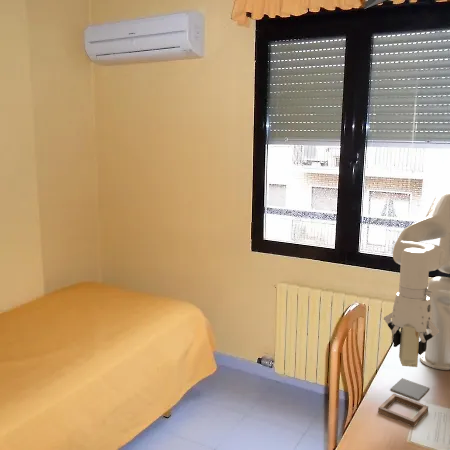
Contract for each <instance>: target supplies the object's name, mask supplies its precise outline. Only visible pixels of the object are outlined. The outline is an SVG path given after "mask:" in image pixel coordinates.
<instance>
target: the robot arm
mask: <svg viewBox="0 0 450 450" xmlns="http://www.w3.org/2000/svg"><path fill="white" fill-rule="evenodd" d="M436 239H439V245H437V244H434V243H427V241H431V240H436ZM425 241H426V243H424V242H425ZM392 259H393V261H394V262H395V263H396V264H398V265H400V267H399V269H400V272H399V286H398V287H399V288H398V292H397V293H396V294H395V295H396V296H395V299H394V302H393V307H392V311H391V313H389V314H387V315H386V316H384V317H383V320H384V321H385V323H386V324H387V326H388V328H389V329H390V330H391V334H392V343H393V347H395V348H397V347H398V346H400V335H401V328H403V327H404V325H407V326H411V327H414V328H415V329H416V332H419V333H420V335H419V349H418V356H419V360H420V362H422V363H423V364H424V365H426V366H427V367H429V368H431V369H432V368H433V369H436V370H441V371H449V370H450V277H449V276H447V277H446V276H435V277H432V278H431V279H429V275H430V274H429V273H430V272H433V271H436V270H438V271H439V272H441V273H445V274H448V275H449V274H450V191H443V192H441V193H438V194H437V195H436V196H435V198H434V199H433V201H432V203H431V206H430V208H429V210H428V212H427V214H426V216H425V217H424V218H422V219H420V220H418V221H416V222H414V223H412V224H410V225H408V226H407V227H406V228H404V229H403V230H402V231H401V233H400V234H399V236H398V238H397V240H396V241H395V244H394V246H393V250H392Z"/></svg>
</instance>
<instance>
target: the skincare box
mask: <svg viewBox="0 0 450 450" xmlns="http://www.w3.org/2000/svg"><path fill="white" fill-rule="evenodd" d="M400 332H401V335H400V344H399V349H398V350H399V351H398V352H399V354H398V357H399V361H400V364H401V366H403V367H409V368H411V367H412V368H417V367H418V362H419V354H418V349H419V341H420V336H419V335H420V333H419V332H416V329H415V328H414V327H411V326H407V325H404V327H403V328H400Z"/></svg>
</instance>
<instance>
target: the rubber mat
mask: <svg viewBox="0 0 450 450" xmlns="http://www.w3.org/2000/svg"><path fill="white" fill-rule="evenodd" d="M389 390H390V391H392V392H395V393H397V394H400V395H401V396H402V395H403V396H404V397H405V396H406V397H409V398H411V399H413V400H415V401H419V400H420V399H421V398H423V396H425V395H426V393H427V392H428V391H430V387H429V386H425V385H422V384H420V383H418V382H414V381H411V380H409V379H406V378H403V377H401V379H399V380H398V381H397V382H396V383H395V384H394V385H393V386H392V387H390V389H389Z"/></svg>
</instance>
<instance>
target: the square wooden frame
mask: <svg viewBox="0 0 450 450" xmlns="http://www.w3.org/2000/svg"><path fill="white" fill-rule="evenodd" d="M395 401H396V402H399V403H402V404H404V405H406V406H409V407H412V408H414V409H417V410H419V411H418V412H416V414H415V415H414V416H413V417H412V418H410V417H408V416H405V415H403V414H402V413H401V414H400V413H398V412H395V411H393V410H391V409H388V408H389V407H390V406H391V405H392V404H394V402H395ZM377 409H378V410H377V412H378V413H379V414H382V415H384V416H387V417H389V418H391V419H394V420H396V421H398V422H401V423H403V424H405V425H409V426H411V427H413V428H414V427H415V426H416V425H417V424H418V423H419V421H421V419H422V418H423V417H424V416H425V415H426V414H427V412H429V406H428V405H426V404H423V403H420V402H418V401H416V400H415V401H414V399H413V400H412V399H409V398H407V397H405V396H402V395H399V394H398V393H397V394H396V393H392V394H391V395H390V396H389V397H388V398H387V399H386V400H385V401H384V402H383V403H382V404H381V405H379V406H378V407H377Z"/></svg>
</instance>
